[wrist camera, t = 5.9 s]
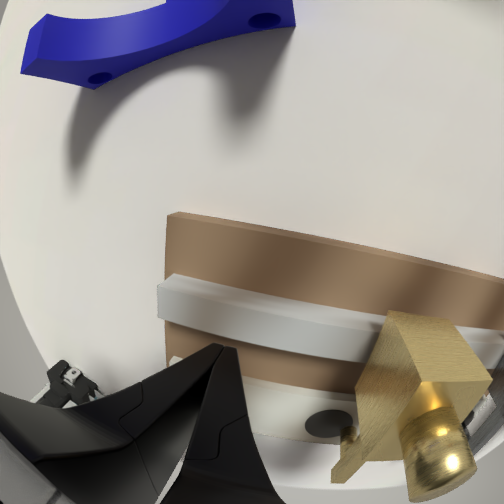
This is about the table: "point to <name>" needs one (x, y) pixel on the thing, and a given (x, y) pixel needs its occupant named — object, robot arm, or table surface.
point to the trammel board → (320, 285)
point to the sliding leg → (416, 405)
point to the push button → (66, 388)
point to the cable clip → (141, 37)
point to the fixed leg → (500, 390)
